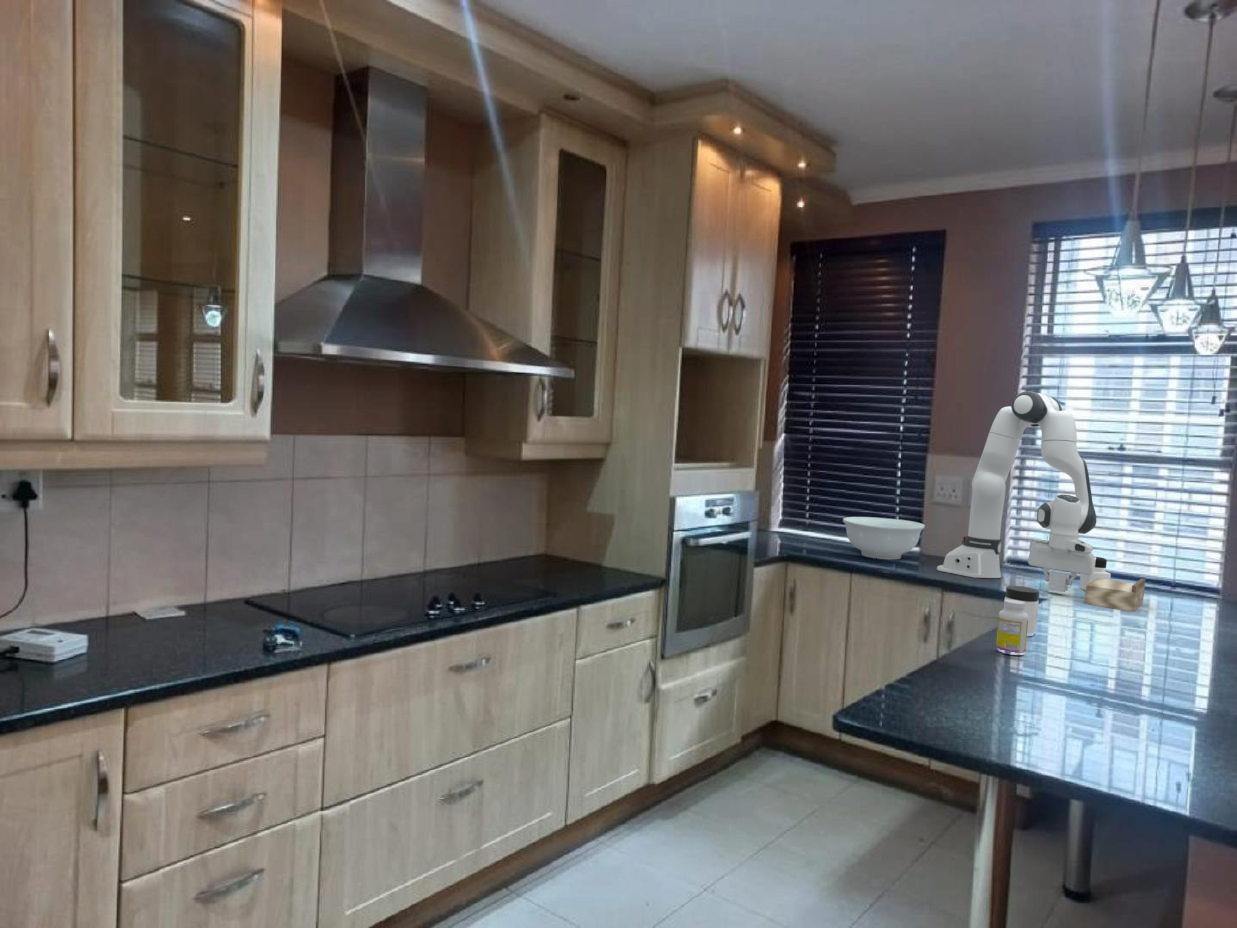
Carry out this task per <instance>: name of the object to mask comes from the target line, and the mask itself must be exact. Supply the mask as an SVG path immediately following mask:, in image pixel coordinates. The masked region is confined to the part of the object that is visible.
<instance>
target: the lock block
mask: <svg viewBox="0 0 1237 928" xmlns="http://www.w3.org/2000/svg"><path fill="white" fill-rule="evenodd" d="M1070 575H1071V572H1066V571H1060V570H1052V571H1049V582H1048V585H1047V586H1048V587H1047V590H1049V591H1055V592H1059V593H1065V592H1067V591H1068V590H1069V585H1066V583H1067V582H1066V580H1067V579H1070Z"/></svg>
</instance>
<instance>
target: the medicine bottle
mask: <svg viewBox="0 0 1237 928" xmlns="http://www.w3.org/2000/svg"><path fill="white" fill-rule="evenodd" d="M1094 558H1095V570H1094V573H1093V574H1091V575H1085V574H1080V576H1079V577H1080V578H1079V589H1081V590H1083V591H1084V592H1085V591H1086V585H1087V584H1089V583H1090V582H1092V581H1093V580H1095V579H1096V578H1101V579H1108V580H1111V575H1112V574H1111V573H1110V572H1107V571H1106V570H1107V563H1108V560H1107V559H1106V558H1105V557H1101V556H1094Z"/></svg>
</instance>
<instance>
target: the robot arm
mask: <svg viewBox="0 0 1237 928" xmlns="http://www.w3.org/2000/svg"><path fill="white" fill-rule="evenodd" d="M1029 426H1031V427H1033V428H1034V427H1040V429H1041V439H1040V440H1041V441H1040V454H1041V458H1042V459H1043V461H1044V462H1045V463H1046V464H1047V465H1048V466H1050V467H1052V468H1053V469H1056V470H1058V471H1061V472H1063V474H1066V475H1068V476H1069V477H1070V478H1071V480H1072V481H1073V485H1074V494H1075V495H1070V494H1058V495H1056V496H1055V497H1054V499H1053V500H1051V501H1049V502H1043V504H1041V505H1040V506H1039V507H1038V508H1037V512H1036V522H1037V524H1039V525H1040V526H1041V528H1042V529H1045V530H1049V534H1048V535H1049V536H1048V540H1044V539H1043V540H1042V539H1039V538H1037V539H1036V538H1035V539H1033V540H1031V541H1030V542H1029V545H1028V546H1029V547H1028V548H1029V553H1028V557H1027V558H1028V559H1027V563H1028V565H1029V566H1033V567H1037V568H1042V571H1043V573H1044V576H1045V582H1048V583H1049V575H1050V573H1049V572H1050V571H1049V570H1050V569H1051V570H1054V571H1060V572H1066V573H1070V576H1071V578H1070V577H1069V579H1067V580H1066V582H1067V583H1066V585H1068V586H1073V581H1074V580H1075V578H1076V577H1077V575H1078V574H1080V575H1081V574H1085V575H1091V574H1093V573H1094V570H1095V558H1094V557H1095V555H1094V554H1093V550H1094V546H1093V545H1091V544H1090V543H1087V542H1086V541H1082V540H1080V539H1079V536H1080V534H1082V535H1085V534H1087V533H1089V532H1091V531H1093V529H1094V528H1096V525H1097V514H1096V510H1095V507H1094V502H1093V495H1092V488H1091V482H1090V475H1089V469H1088V466H1087V465H1088V464H1087V463H1086V460H1085V459H1084V458H1082V457H1081V455H1080V453H1079V451H1078V447H1077V438H1078V437H1077V426H1076V419H1075V417H1074V415H1073V414H1072V413H1070V412H1068V411H1065V410H1063V408H1062V405H1061V404H1060V402H1059V401H1058V400H1056V398H1054V397H1050V396H1049V395H1047V394H1045V393H1039V392H1035V391H1030V390H1028V391H1026V390H1025V391H1022V392H1019V393H1018V394H1016V395H1015V396H1014V397H1013V399H1012V400H1011V405H1010V406H1004V407H1001V409H999V410H998V412H997V414H996V416H995V418H994V420H993V422H992V425H991V427H990V430H989V432H988V435H987V439H986V441H985V444H984V447H983V451H982V453H981V456H980V459H979V461H978V464H977V467H976V469H975V472H974V475H973V479H972V481H971V487H972V493H971V503H970V509H969V510H970V511H969V512H970V513H969V521H968V533H967V535H965V536H963V537H962V538H961V545H959V546H958V547H956V548H953V549H952V550H951V551H949V552H948V553H946V555H945V557H944V561H943V564H941V565H938V566H937V567H936V570H937V571H939V572H945V573H949V574H954V575H958V576H965V577H970V578H974V579H975V578H978V579H979V578H981V579H983V578H985V579H1000V578H1002V574H1001V569H1000V565H1001V564H1000V554H1001V551H1002V550H1001V549H1002V539H1001V531H1002V530H1001V529H1002V519H1003V518H1002V517H1003V511H1004V505H1005V498H1006V490H1007V489H1006V488H1007V487H1006V482H1007V480H1008V476H1009V473H1010V472H1011V468H1012V466H1013V464H1014V462H1015V458H1016V456H1017V453H1018V450H1019V446H1020V443H1021V440H1022V437H1023V434H1024V433H1025V430H1026V428H1027V427H1029Z"/></svg>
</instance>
